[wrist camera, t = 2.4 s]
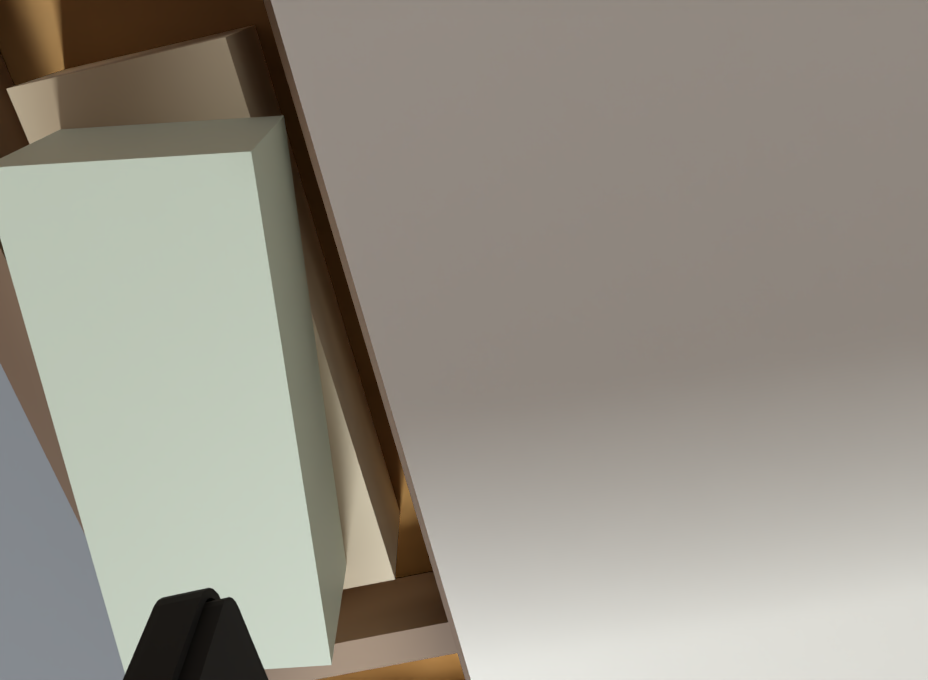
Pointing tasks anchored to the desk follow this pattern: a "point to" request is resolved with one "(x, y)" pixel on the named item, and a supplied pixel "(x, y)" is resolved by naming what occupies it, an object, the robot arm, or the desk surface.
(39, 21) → the desk surface
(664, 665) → the off-white rectangular prism
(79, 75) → the offcut lower
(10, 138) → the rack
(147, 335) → the offcut upper
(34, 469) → the mat
